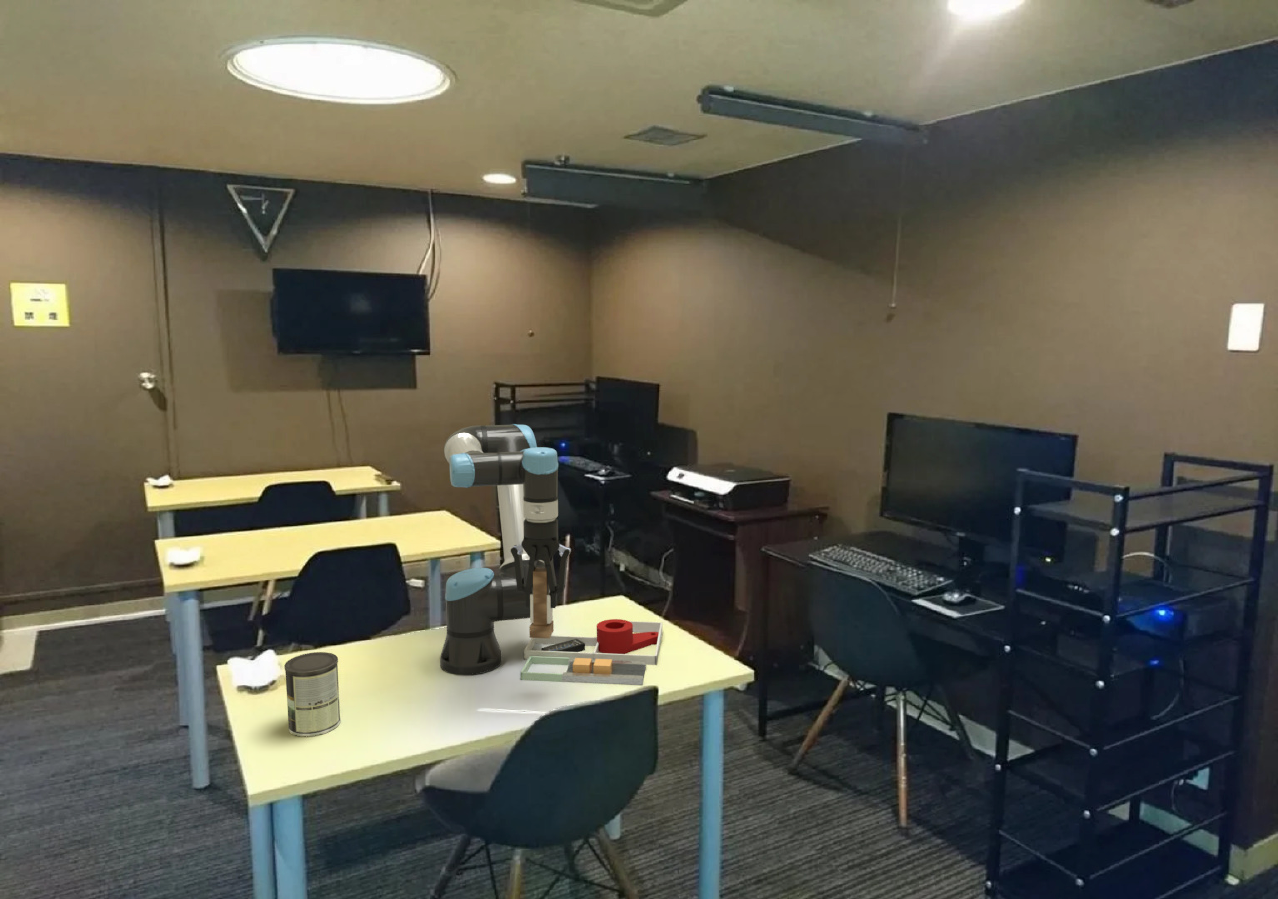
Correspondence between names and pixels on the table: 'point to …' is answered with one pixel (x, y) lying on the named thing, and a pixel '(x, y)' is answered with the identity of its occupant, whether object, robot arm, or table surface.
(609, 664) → the orange block
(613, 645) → the lever
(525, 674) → the tray
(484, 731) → the table surface
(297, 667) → the coffee can
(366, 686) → the table surface
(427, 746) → the table surface
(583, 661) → the chip
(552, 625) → the wooden post on base
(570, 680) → the shallow gray tray
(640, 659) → the organizer
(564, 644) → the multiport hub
